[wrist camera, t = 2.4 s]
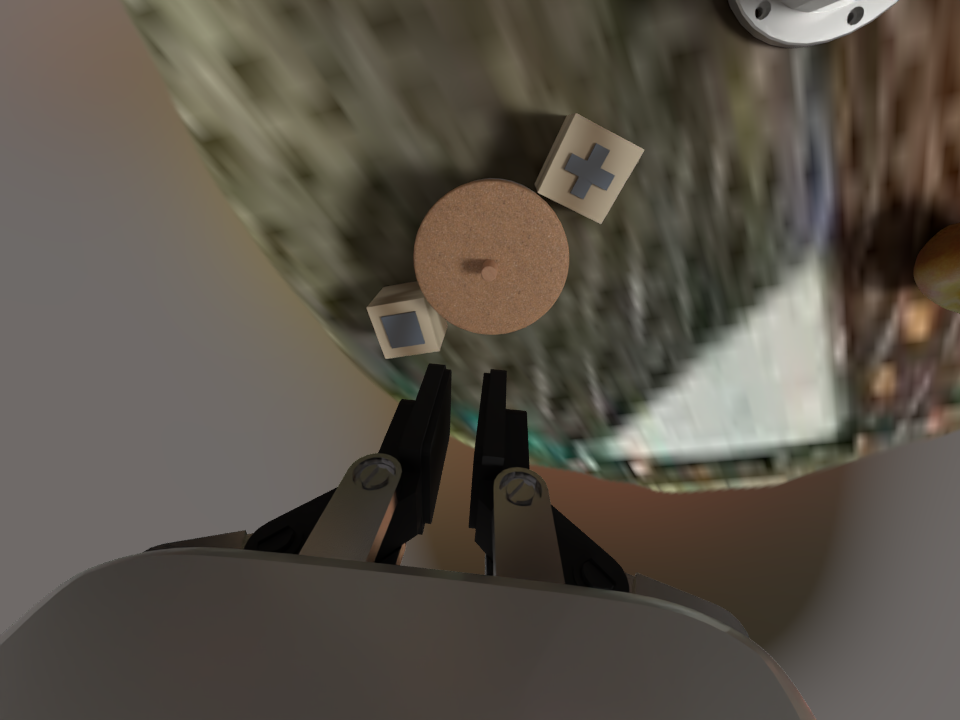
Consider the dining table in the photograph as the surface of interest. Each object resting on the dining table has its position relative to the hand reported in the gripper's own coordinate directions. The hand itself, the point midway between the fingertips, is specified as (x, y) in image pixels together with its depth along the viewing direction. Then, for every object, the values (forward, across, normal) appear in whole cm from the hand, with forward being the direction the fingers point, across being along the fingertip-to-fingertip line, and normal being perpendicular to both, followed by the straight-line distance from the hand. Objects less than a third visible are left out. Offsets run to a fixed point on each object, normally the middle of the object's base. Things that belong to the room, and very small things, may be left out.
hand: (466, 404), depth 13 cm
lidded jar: (+23, 0, 0) cm, 23 cm away
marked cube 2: (+23, -6, -6) cm, 25 cm away
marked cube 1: (+23, +7, +7) cm, 25 cm away
